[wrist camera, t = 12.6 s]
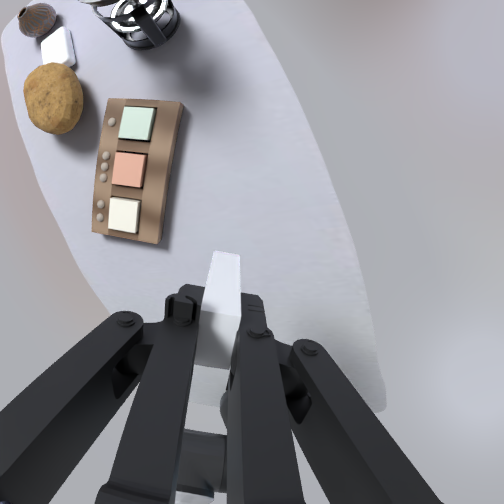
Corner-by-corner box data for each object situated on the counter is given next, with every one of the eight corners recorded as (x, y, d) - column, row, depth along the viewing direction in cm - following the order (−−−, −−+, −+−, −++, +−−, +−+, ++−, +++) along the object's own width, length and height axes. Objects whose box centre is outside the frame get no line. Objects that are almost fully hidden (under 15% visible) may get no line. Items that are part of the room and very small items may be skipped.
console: (161, 239, 40) (156, 244, 38) (98, 227, 39) (90, 232, 37) (183, 105, 34) (179, 102, 32) (115, 101, 33) (107, 98, 30)
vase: (46, 43, 27) (19, 31, 19) (29, 38, 25) (3, 28, 17) (67, 12, 25) (43, -4, 17) (48, 9, 24) (25, -5, 15)
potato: (66, 151, 35) (37, 153, 27) (35, 98, 31) (7, 93, 23) (107, 109, 33) (82, 101, 26) (72, 57, 29) (47, 44, 22)
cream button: (141, 227, 39) (135, 233, 37) (116, 223, 39) (108, 228, 36) (144, 199, 38) (137, 202, 35) (118, 195, 38) (110, 198, 35)
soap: (77, 63, 30) (69, 59, 27) (53, 81, 30) (44, 78, 27) (70, 29, 27) (62, 24, 24) (47, 46, 27) (39, 42, 25)
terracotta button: (146, 185, 37) (139, 187, 35) (119, 181, 37) (111, 183, 34) (151, 155, 36) (144, 155, 33) (124, 152, 35) (115, 152, 33)
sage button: (153, 140, 35) (147, 139, 32) (126, 138, 35) (118, 137, 32) (159, 111, 34) (153, 108, 31) (132, 109, 33) (124, 106, 31)
